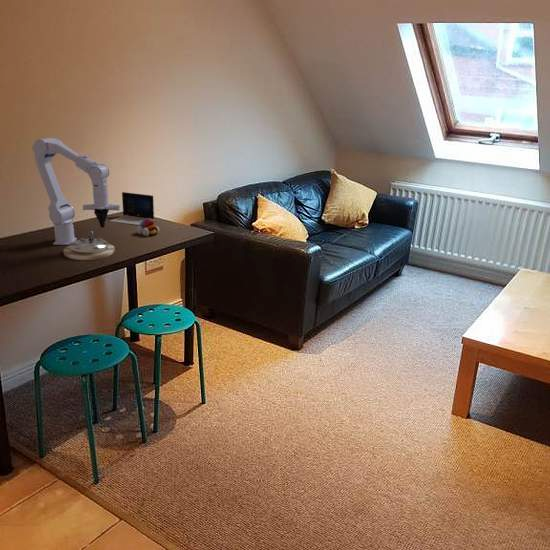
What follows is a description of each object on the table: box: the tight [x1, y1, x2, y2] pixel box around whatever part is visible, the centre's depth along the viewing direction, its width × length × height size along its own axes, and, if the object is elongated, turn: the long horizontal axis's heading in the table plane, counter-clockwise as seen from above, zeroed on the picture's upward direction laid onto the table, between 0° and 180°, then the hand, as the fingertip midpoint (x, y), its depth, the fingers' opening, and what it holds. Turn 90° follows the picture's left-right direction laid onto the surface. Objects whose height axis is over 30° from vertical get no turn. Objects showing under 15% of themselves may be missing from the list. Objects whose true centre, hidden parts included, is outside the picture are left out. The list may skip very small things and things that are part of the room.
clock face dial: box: [68, 230, 109, 254], centre depth 224 cm, size 15×15×6 cm
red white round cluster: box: [136, 218, 160, 237], centre depth 253 cm, size 8×10×7 cm
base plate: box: [63, 243, 116, 261], centre depth 225 cm, size 20×20×2 cm
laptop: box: [109, 191, 155, 226], centre depth 273 cm, size 18×12×13 cm
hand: (102, 226), depth 229 cm, fingers closed
